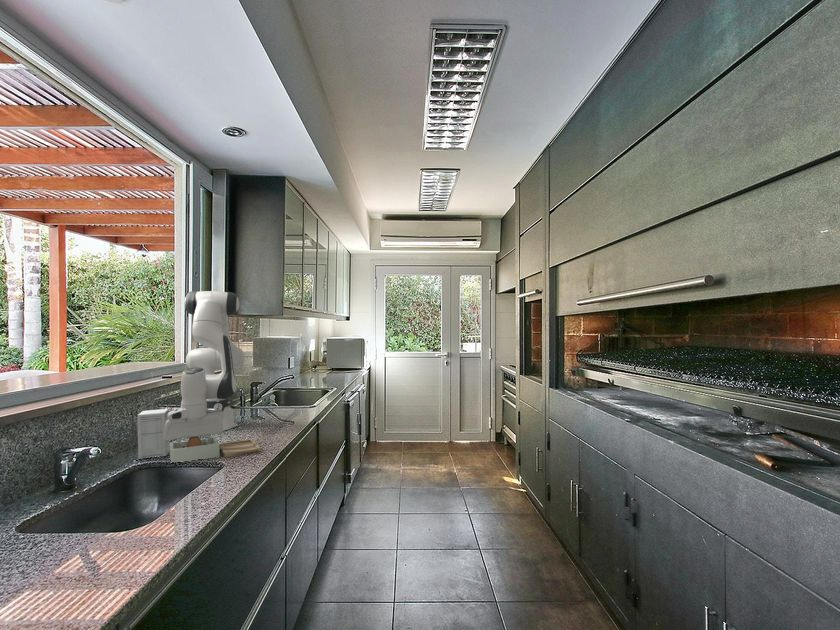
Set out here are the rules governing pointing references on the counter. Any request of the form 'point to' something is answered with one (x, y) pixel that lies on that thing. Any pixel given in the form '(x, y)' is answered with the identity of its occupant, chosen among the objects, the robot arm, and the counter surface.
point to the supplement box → (152, 433)
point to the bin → (194, 451)
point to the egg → (194, 442)
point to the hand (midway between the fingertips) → (194, 448)
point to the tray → (239, 448)
